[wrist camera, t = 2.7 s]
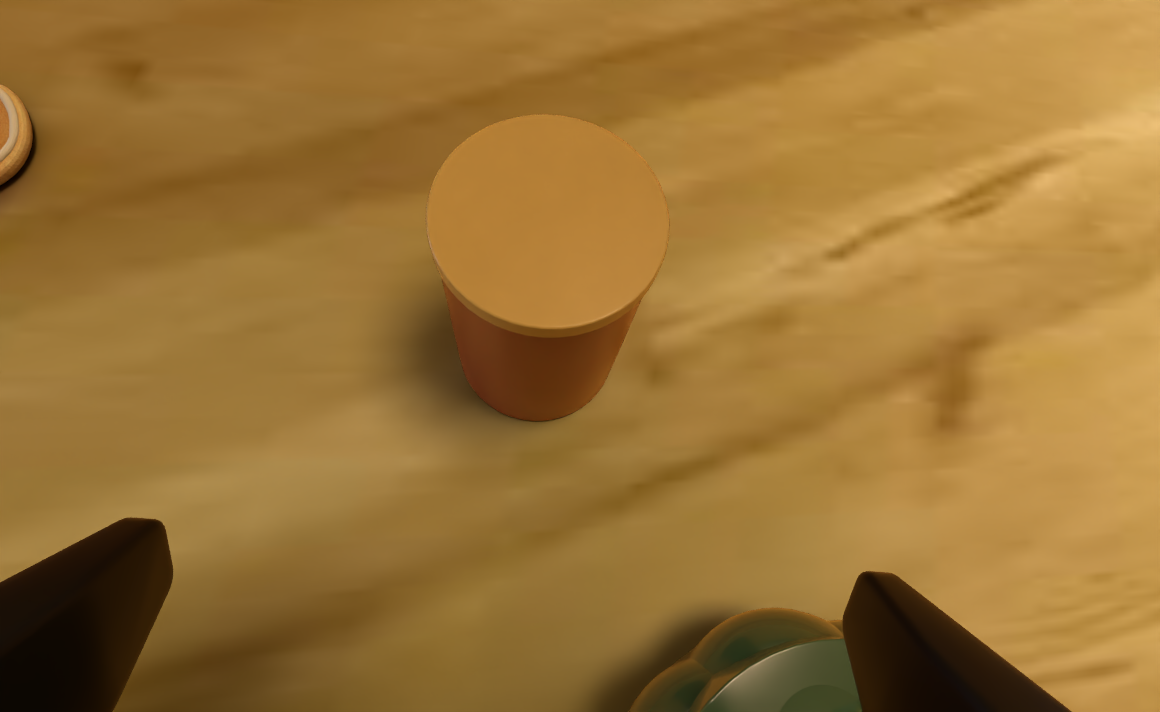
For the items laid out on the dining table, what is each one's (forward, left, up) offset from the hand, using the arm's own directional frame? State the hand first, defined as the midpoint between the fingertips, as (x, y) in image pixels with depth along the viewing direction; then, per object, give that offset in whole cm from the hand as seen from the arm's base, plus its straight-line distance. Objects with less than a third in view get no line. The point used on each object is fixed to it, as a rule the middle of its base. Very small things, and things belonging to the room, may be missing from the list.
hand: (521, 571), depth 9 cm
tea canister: (+2, +8, -13) cm, 16 cm away
